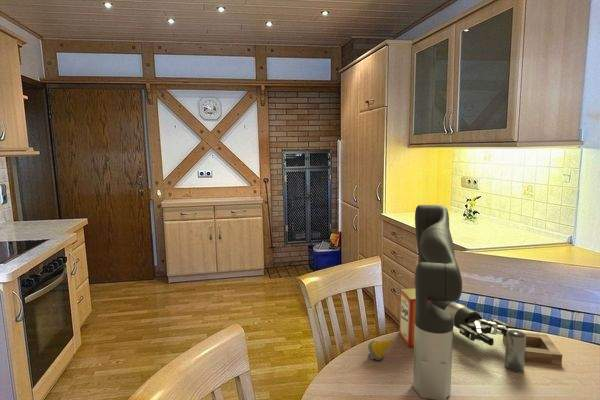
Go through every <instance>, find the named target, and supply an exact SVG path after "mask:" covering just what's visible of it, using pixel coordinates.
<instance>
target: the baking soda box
mask: <svg viewBox="0 0 600 400" xmlns="http://www.w3.org/2000/svg"><path fill="white" fill-rule="evenodd" d="M429 302H430V303H431V300H429ZM415 309H416V296H415V287H410V288H408V287H406V288H400V291H399V322H398V324H399V325H398V326H399V328H398V329H399V330H398V333H399V336H400V337H401V338H402V339H403V341H404V342H405V343H406V345H407V346H408V348H409V349H410V348H414V333H415Z"/></svg>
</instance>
